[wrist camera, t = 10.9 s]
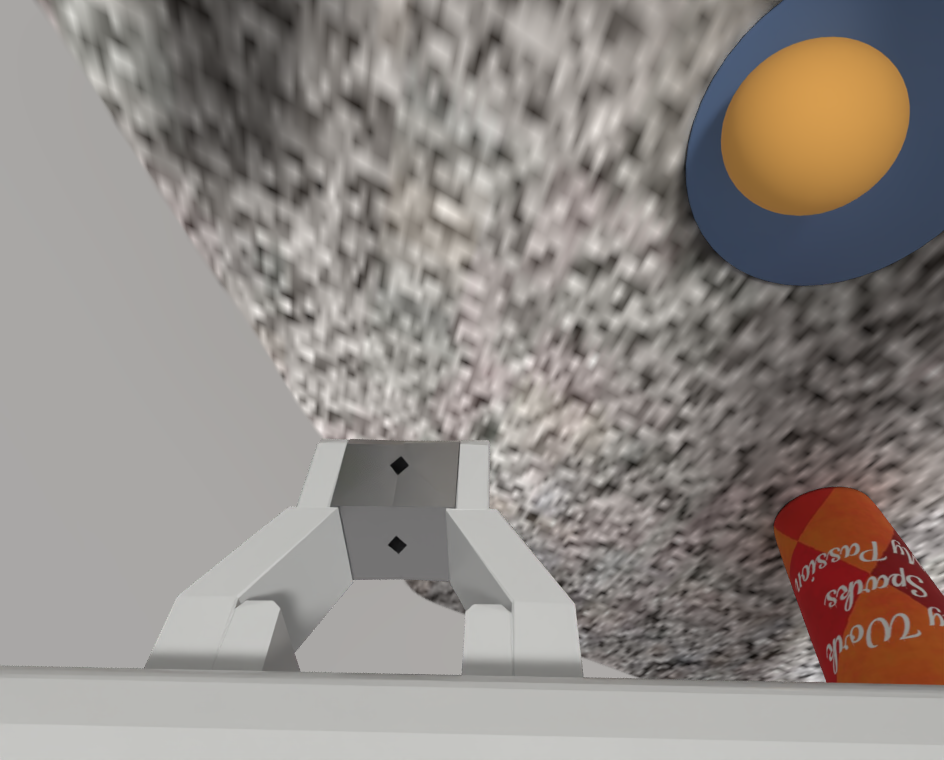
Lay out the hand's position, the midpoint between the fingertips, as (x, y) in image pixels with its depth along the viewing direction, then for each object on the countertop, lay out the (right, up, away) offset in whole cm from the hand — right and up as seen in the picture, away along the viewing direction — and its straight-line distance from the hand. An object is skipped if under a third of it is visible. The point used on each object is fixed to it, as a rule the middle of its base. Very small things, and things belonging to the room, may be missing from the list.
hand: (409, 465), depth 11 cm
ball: (+13, +11, +12) cm, 21 cm away
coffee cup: (+23, -7, +28) cm, 37 cm away
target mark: (+17, +11, +15) cm, 25 cm away
